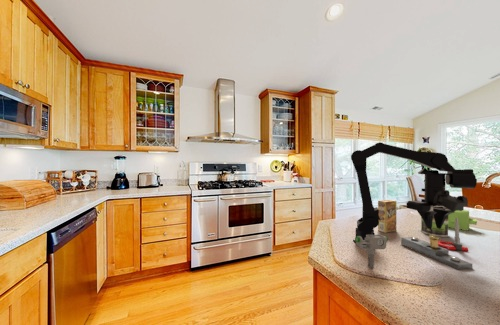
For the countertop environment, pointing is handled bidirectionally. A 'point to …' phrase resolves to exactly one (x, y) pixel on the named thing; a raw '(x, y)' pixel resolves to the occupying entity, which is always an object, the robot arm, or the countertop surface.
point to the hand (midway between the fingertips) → (434, 228)
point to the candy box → (387, 216)
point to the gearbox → (461, 219)
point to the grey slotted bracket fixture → (435, 253)
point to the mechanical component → (371, 245)
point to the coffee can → (435, 228)
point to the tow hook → (456, 245)
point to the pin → (434, 242)
